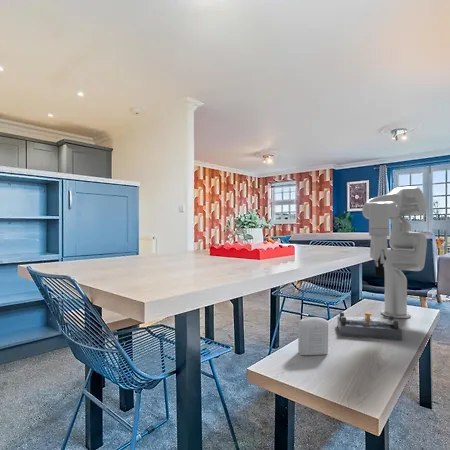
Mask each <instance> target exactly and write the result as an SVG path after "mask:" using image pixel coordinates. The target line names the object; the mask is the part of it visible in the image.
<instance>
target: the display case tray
mask: <svg viewBox="0 0 450 450" xmlns="http://www.w3.org/2000/svg"><path fill="white" fill-rule="evenodd" d="M363 315H364V318H365V320H366V322H347V321H346V317H342V320H341V316H345V313H344V312H339V316H337V317H336V318H337V323H336V325H337V329H338V332H339V334H340V335H339V336H342V337H351V338H352V337H354V338H365V339H377V340H378V339H379V340H389V341H392V340H393V341H403V330H402V329H401V327H400V326H399V321H398V320H394V319H395V318H394V317H393V316H388V319H393V320H394V321H393V325H390V324H383V323H376V322H371V320H370V317H373V316H372V313H371V311H363Z"/></svg>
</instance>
